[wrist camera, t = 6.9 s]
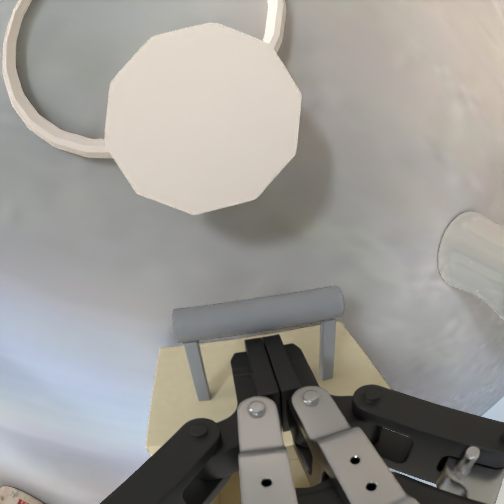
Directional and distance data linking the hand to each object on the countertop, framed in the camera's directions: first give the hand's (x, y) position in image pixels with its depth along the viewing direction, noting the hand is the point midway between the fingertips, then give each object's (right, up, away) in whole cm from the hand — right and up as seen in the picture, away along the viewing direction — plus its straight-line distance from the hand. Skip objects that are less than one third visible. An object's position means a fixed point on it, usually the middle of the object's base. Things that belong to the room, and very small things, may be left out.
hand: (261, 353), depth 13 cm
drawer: (0, -5, +7) cm, 8 cm away
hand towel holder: (-6, +16, 0) cm, 17 cm away
